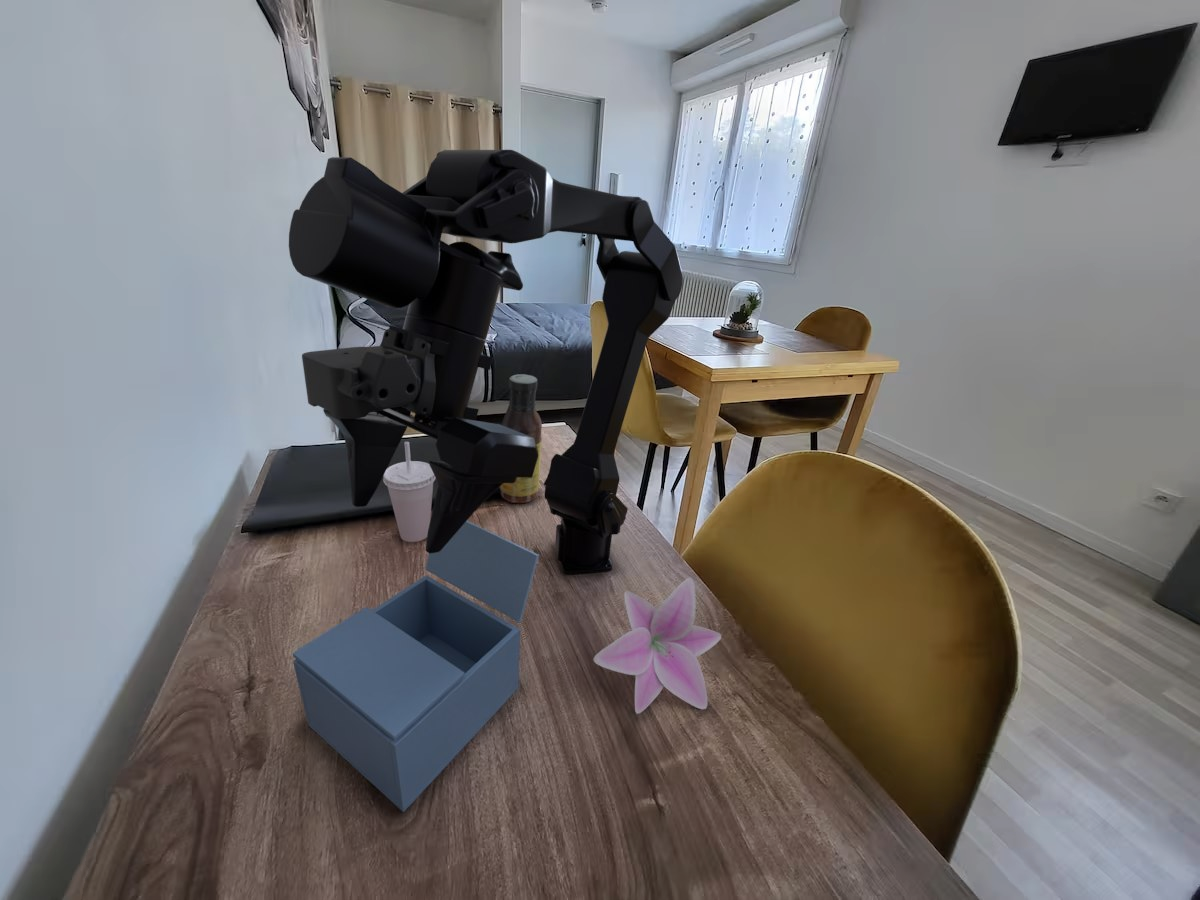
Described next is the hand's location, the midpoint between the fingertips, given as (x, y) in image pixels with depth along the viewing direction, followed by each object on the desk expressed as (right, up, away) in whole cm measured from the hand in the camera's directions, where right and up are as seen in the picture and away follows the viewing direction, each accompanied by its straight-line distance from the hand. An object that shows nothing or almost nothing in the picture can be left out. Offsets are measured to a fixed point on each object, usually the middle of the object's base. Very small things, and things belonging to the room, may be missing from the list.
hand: (393, 527), depth 37 cm
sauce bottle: (+3, -2, +41) cm, 41 cm away
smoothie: (-10, -6, +29) cm, 31 cm away
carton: (0, -17, +6) cm, 18 cm away
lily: (+21, -17, +11) cm, 29 cm away
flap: (+4, -5, +8) cm, 10 cm away
